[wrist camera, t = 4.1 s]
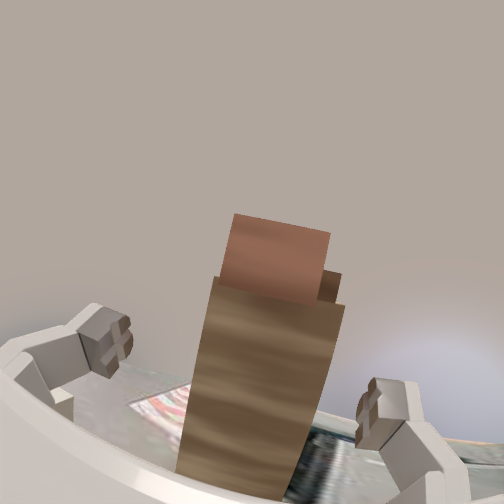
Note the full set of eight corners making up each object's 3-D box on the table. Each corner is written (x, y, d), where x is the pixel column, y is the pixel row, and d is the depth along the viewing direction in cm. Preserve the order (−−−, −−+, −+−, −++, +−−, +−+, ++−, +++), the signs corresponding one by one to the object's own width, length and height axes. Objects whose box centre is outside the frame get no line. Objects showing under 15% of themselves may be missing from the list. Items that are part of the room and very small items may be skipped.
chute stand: (255, 553, 17) (351, 275, 19) (166, 527, 19) (220, 247, 21) (271, 478, 32) (329, 279, 34) (207, 461, 34) (253, 263, 36)
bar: (314, 307, 12) (330, 232, 12) (217, 284, 12) (234, 213, 13) (305, 292, 31) (311, 264, 32) (268, 284, 32) (274, 256, 32)
